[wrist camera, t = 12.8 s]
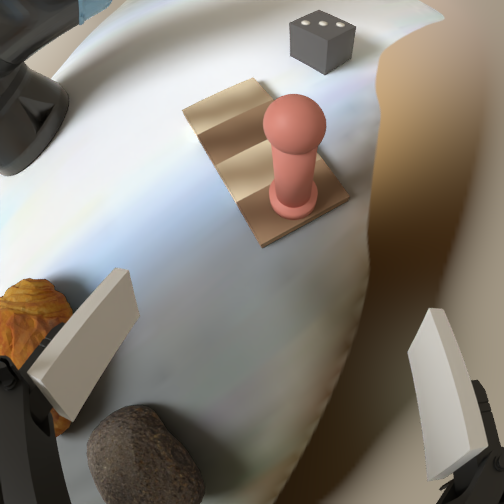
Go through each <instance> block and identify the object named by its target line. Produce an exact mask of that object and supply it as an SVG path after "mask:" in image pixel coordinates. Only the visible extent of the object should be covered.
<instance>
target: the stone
mask: <svg viewBox="0 0 504 504" xmlns="http://www.w3.org/2000/svg"><path fill="white" fill-rule="evenodd" d="M87 458H88V465H89V468H90V471H91V474H92V477H93V479H94V482H95V484H96V486H97V489H98V491H99V492H100V494H101V496H102V498H103V500H104V501H105V502H106V504H200V503H201V502H202V499H203V496H204V493H205V485H204V482H203V479H202V476H201V473H200V471H199V469H198V467H197V466H196V464H195V463H194V461H193V459H192V458H191V456H190V454H189V453H188V451H187V450H186V449H185V447H184V446H183V445H182V444H181V443H180V442H179V441H178V440H177V439H176V438H175V437H174V436H173V435H171V434H170V433H169V432H168V430H167V429H166V427H165V426H164V424H163V423H162V421H161V420H160V418H159V417H158V415H157V414H156V412H154V411H153V410H152V409H151V408H150V407H148V406H142V405H133V406H126V407H124V408H121V409H119V410H117V411H115V412H113V413H112V414H110V415H109V416H108V417H106V418H105V419H104V420H103V421H101V422H100V424H99V425H98V426H97V427H96V428H95V429H94V431H93V432H92V434H91V436H90V438H89V440H88V443H87Z"/></svg>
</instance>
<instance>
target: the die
mask: <svg viewBox="0 0 504 504" xmlns="http://www.w3.org/2000/svg"><path fill="white" fill-rule="evenodd" d="M289 27H290V56H291V57H293V58H295V59H297V60H299V61H301V62H303V63H304V64H306V65H308V66H310V67H312V68H313V69H315V70H317V71H319V72H320V73H322V74H324V75H326V74H328V73H329V72H331V71H332V70H334V69H335V68H337V67H338V66H340V65H342V64H343V63H345V62H346V61H348V60H350V59H351V56H352V50H353V43H354V37H355V30H356V26H354V25H352V24H350V23H348V22H345V21H343V20H341V19H339V18H337V17H335V16H332V15H330V14H328V13H325V12H323V11H321V10H318V11H315V12H313V13H310V14H308V15H306V16H304V17H301V18H299V19H297V20H295V21H293V22H290V23H289Z"/></svg>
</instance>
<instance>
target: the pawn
mask: <svg viewBox="0 0 504 504" xmlns="http://www.w3.org/2000/svg"><path fill="white" fill-rule="evenodd" d="M263 129H264V133H265V135H266V137H267V139H268V141H269V142H270V143H271V148H272V158H273V168H274V180H273V181H272V183H271V185H270V188H269V197H270V203H271V206H272V208H273V210H274V211H275V212H276V214H278V215H279V216H280V217H282V218H284V219H288V220H299V219H303V218H305V217H307V216H308V215H309V214H310V213H311V212H312V211H313V210H314V208H315V205H316V201H317V195H318V191H317V186H316V184H315V182H314V181H313V177H314V170H315V163H316V156H317V148H318V145H319V144H320V143H321V141H322V139H323V138H324V135H325V132H326V119H325V116H324V113H323V111H322V109H321V108H320V106H319V105H318V104H317V103H316V102H315V101H313V100H312V99H310V98H308V97H306V96H303V95H299V94H289V95H284V96H281V97H279V98H277V99H276V100H275V101H273V102H272V103H271V104H270V105H269V107H268V108H267V110H266V112H265V114H264V119H263Z"/></svg>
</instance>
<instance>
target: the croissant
mask: <svg viewBox="0 0 504 504" xmlns="http://www.w3.org/2000/svg"><path fill="white" fill-rule="evenodd" d="M54 287H55V286H54V285H53V284H52V283H50V282H49V281H48V280H46V279H31V278H28V279H23V280H22V281H20V282H18V283H17V284H15V285H13V286H11V287H10V288H8V289H7V291H6V292H5V294H4V296H2V297H0V355H6V356H8V357H9V358H10V359H11V360H12V362H13V363H14V365H15V366H16V368H17V369H18V370H19V369H20V368H21V367H22V365H23V364H24V363H25V361H26V360H27V359H28V358H29V356H30V355H31V354H32V352H33V351H34V350H35V349H36V347H37V346H38V345H40V343H41V341H42V340H43V339H45V336H46V335H47V334H48V333H49V332H50V330H51V329H52V328H54V327H55V326H57V325H58V324H60V323H61V322H63V323H66V322H67V321H68V320H69V319H70V318H71V317H72V315H73V311H72V309H71V307H70V304H69V303H68V302H67V300H66V297H65V296H64V295H63V294H62V293H60V292H58V291H56V290H55V289H54ZM50 412H51V414H52V417H53V423H54V430H55V436H56V437H57V436H59V435H60V434H62V433H64V431H65V430H66V429H68V428H69V427H70V423H71V421H70V420H68V419H66V418H64V417H62V416H61V415H59V414H58V413H57V411H56V410H55V409H54V408H52V409H51V411H50Z"/></svg>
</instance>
